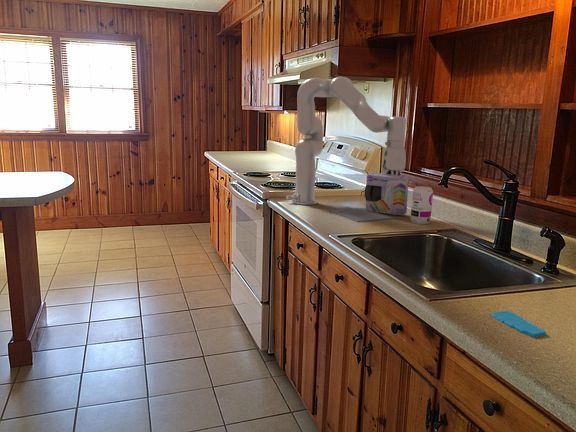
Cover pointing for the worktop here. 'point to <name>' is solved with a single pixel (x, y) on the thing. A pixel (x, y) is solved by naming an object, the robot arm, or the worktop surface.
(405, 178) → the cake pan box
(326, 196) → the worktop surface
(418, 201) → the supplement can
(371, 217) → the mat
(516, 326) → the sponge
